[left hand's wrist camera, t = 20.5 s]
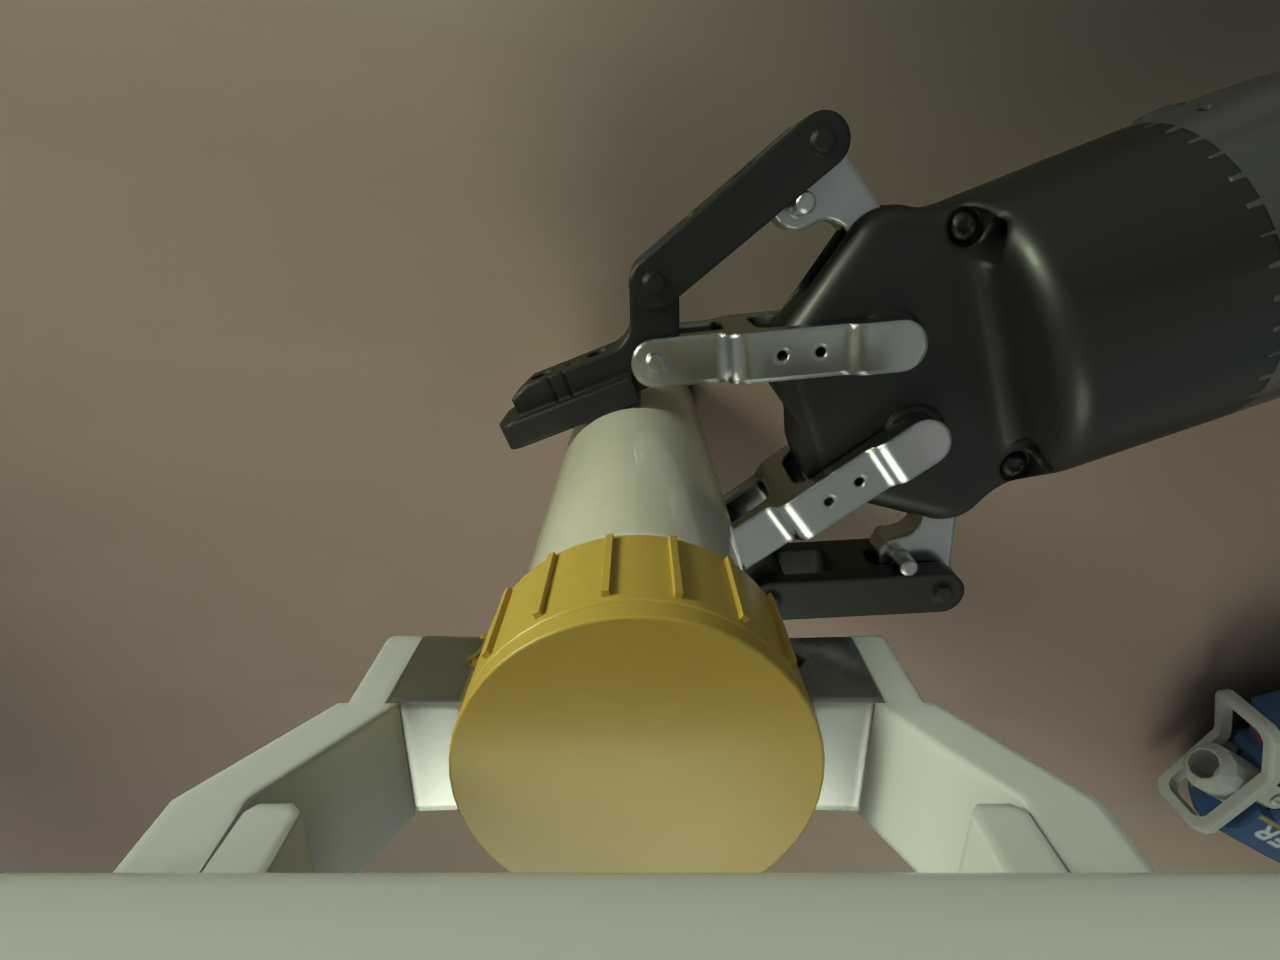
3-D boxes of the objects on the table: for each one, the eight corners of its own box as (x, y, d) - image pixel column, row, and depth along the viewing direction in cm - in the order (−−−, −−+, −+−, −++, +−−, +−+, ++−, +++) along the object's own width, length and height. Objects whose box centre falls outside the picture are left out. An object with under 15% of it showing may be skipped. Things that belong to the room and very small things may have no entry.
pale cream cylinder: (707, 444, 25) (819, 805, 10) (604, 477, 26) (550, 872, 10) (674, 339, 24) (743, 561, 8) (565, 375, 24) (434, 652, 9)
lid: (419, 690, 11) (367, 803, 8) (608, 463, 9) (600, 530, 7) (657, 834, 12) (662, 964, 10) (857, 648, 10) (912, 753, 8)
